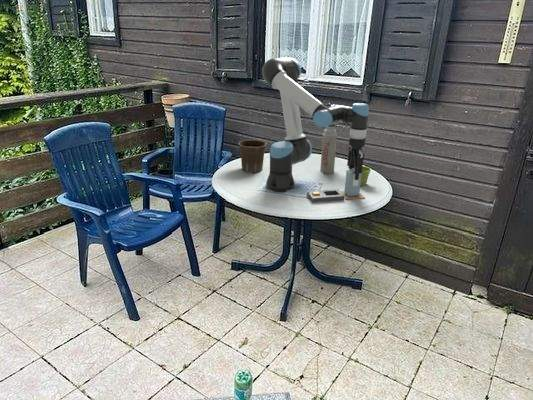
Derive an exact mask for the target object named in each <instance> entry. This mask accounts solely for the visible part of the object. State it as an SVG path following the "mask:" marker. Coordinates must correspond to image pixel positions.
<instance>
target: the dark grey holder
mask: <svg viewBox="0 0 533 400" xmlns="http://www.w3.org/2000/svg"><path fill="white" fill-rule="evenodd" d="M306 195H307V197H308V199H309V200H310V201H311V202H312V203H323V202H337V201H345V199H344V195H343V194H342V193H341V192H340V190H339V189H337V188H334V189H321V190H320V189H319V190H307V191H306Z"/></svg>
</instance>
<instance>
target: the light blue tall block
mask: <svg viewBox="0 0 533 400" xmlns="http://www.w3.org/2000/svg"><path fill="white" fill-rule="evenodd" d="M353 172H355V170H349V169H346V171H345V183H344V190H343V191H344V193H345V194H346V195H347V196H356V195H359V193H361V192H360V191H361V185H360V183H361V175H362V173H359V181H358V186H352V182H353Z"/></svg>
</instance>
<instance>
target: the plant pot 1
mask: <svg viewBox="0 0 533 400" xmlns="http://www.w3.org/2000/svg"><path fill="white" fill-rule="evenodd" d="M267 144H268V143H267V142H265V141H263V140H258V139H245V140H241V141H239V142H238V145H239V151H240V159H241V170H242V171H243V172H246V173H248V174H249V173H250V174H251V173H254V174H255V173H260V172H262V171H263V168H264V160H265V151H266V146H267Z"/></svg>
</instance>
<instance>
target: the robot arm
mask: <svg viewBox="0 0 533 400" xmlns="http://www.w3.org/2000/svg"><path fill="white" fill-rule="evenodd" d="M301 73H302V68H301V65H300V62H299V61H298V60H297V59H295V58H293V57H288V56H287V57H278V58H276V57H275V58H270V59H268V60H266V61H265V62H264V64H263V66H262V69H261V74H262V78H263V79H264V82H265V83H266V84H267V85H268V86H269V87H271V89H274V90H278V91H279V95H280V99H281V105H282V106H281V107H282V113H283V119H284V126H285V131H286V132H285V133H286V136H285V138H284V140H282V141H276V142H274V143H272V144H271V145H270V149H269V174H268V176H267V180H266V182H265V183H266V185H265V187H266V189H268V190H269V191H272V192H279V193H285V192H287V191H290V190H292V189H294V188H295V186H296V182H295V179H294V175H293V165H296V164H298V163H302V162H303V163H304V161H306V160H308V159H309V158H310V156H311V155H312V152H313V146H312V143H311V142H310V140H309V139H307V135H306V134H304V132H303V126H302V120H301V119H302V118H301V112H300V108H301V109H302V110H303V111H304V112H305V113H306V114H308V115H309V116H311V117H312V118H313V119H312V120H313V123H314V125H315V126H316V127H318V128H326V127H327V126H329V125H332V124H335V125H336V124H339V123H345V124H350V129H349V139H348V145H349V146H348V147H347V148H348V154H347V163H346V165H347V167H348V170H355V172H353V182H352V186H358V181H359V173H362V167H363V166H364V158H365V153H363V150H362V149H363V147H366V137H367V132H368V120H369V111H370V106H369V104H367V103H361V102H356V103H353V104H352V106H348V105H347V106H346V105H340V104H332V105H330V106H329V107H327V106H326V105H325V104H323V103H322V102H321V101H320V100H318V99H317V98H316V97H314V96H313V95H312V94H311V93H309V92H308V91H307V90H305V88H303V87H302V86H301V85H299V78H300V76H301ZM353 168H355V169H353Z"/></svg>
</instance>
